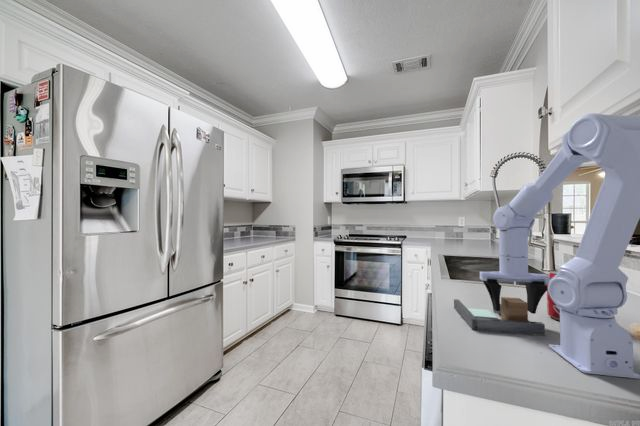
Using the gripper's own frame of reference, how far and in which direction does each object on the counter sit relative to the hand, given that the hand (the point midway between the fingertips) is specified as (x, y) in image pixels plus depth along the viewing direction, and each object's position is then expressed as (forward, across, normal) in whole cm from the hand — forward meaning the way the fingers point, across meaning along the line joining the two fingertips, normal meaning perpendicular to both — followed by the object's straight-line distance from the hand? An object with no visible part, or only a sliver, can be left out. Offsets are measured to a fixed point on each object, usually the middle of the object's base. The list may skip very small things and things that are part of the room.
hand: (513, 311), depth 65 cm
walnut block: (+3, 0, 0) cm, 3 cm away
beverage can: (+3, -14, -6) cm, 16 cm away
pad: (+3, +6, -6) cm, 9 cm away
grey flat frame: (+3, +4, -2) cm, 5 cm away
